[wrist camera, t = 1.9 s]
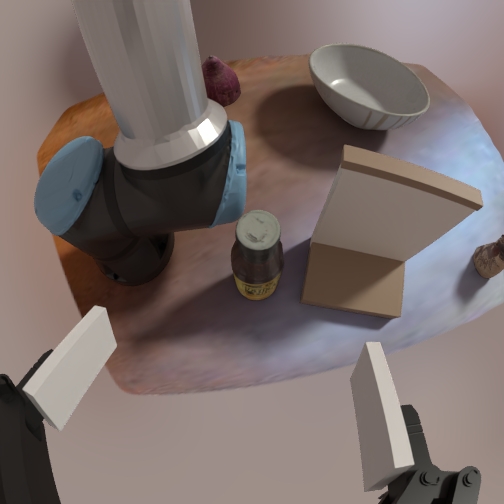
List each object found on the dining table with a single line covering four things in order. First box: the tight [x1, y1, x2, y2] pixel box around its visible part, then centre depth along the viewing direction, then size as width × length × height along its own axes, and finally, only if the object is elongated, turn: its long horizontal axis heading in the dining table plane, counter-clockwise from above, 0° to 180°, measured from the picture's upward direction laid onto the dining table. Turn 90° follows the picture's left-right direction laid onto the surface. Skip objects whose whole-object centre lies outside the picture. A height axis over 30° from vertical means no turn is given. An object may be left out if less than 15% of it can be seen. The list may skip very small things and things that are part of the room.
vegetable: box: [201, 56, 241, 107], centre depth 51 cm, size 10×10×15 cm
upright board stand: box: [300, 144, 483, 319], centre depth 31 cm, size 17×11×23 cm, turn 77°
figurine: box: [474, 235, 504, 278], centre depth 36 cm, size 7×7×12 cm
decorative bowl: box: [309, 43, 430, 130], centre depth 49 cm, size 27×27×12 cm
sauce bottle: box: [231, 210, 284, 300], centre depth 34 cm, size 6×6×20 cm
